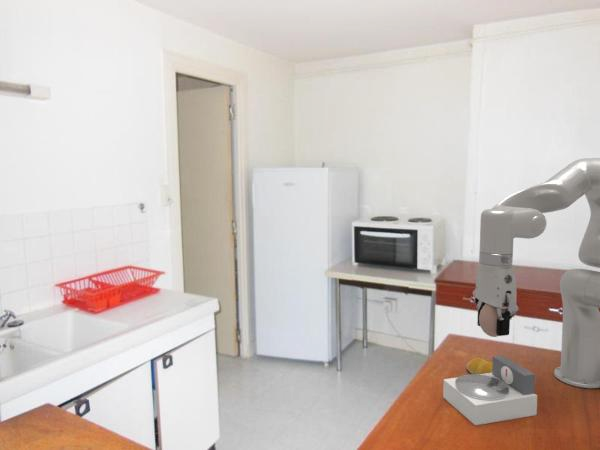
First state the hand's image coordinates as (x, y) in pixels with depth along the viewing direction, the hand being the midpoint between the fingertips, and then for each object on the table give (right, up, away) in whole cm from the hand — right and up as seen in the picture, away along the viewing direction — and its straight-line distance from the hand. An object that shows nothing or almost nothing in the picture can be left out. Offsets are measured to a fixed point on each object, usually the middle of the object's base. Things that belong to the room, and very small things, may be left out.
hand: (492, 329), depth 113 cm
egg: (0, -2, 0) cm, 2 cm away
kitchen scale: (0, -20, +3) cm, 20 cm away
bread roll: (+6, -18, +22) cm, 29 cm away
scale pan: (-2, -15, +2) cm, 15 cm away
